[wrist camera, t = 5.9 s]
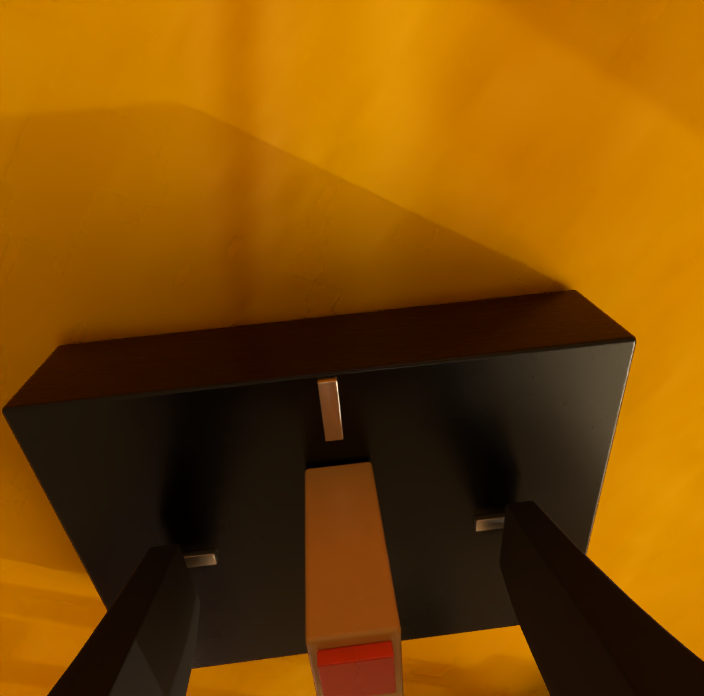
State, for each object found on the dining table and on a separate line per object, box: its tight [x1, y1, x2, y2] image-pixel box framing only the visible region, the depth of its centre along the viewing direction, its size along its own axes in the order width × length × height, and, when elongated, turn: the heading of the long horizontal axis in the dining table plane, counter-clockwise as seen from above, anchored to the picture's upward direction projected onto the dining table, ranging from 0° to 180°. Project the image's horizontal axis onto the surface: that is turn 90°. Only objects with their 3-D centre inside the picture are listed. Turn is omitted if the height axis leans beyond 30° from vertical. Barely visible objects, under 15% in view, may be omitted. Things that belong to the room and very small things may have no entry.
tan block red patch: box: [305, 462, 404, 696], centre depth 10 cm, size 5×1×4 cm, turn 4°
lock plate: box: [2, 290, 636, 669], centre depth 12 cm, size 12×9×3 cm
